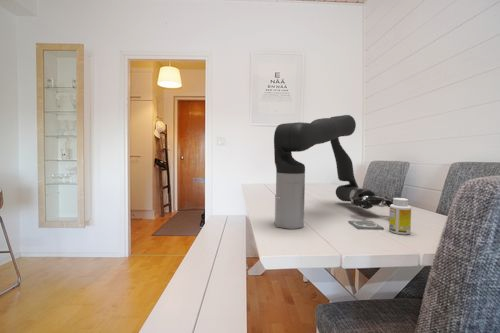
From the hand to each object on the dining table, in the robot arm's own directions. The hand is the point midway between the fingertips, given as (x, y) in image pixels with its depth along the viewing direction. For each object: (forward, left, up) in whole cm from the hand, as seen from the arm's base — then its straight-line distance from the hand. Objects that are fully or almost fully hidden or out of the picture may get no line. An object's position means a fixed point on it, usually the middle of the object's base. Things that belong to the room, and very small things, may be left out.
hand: (382, 205), depth 87 cm
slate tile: (-8, -4, -6) cm, 11 cm away
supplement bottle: (0, -11, -6) cm, 12 cm away
